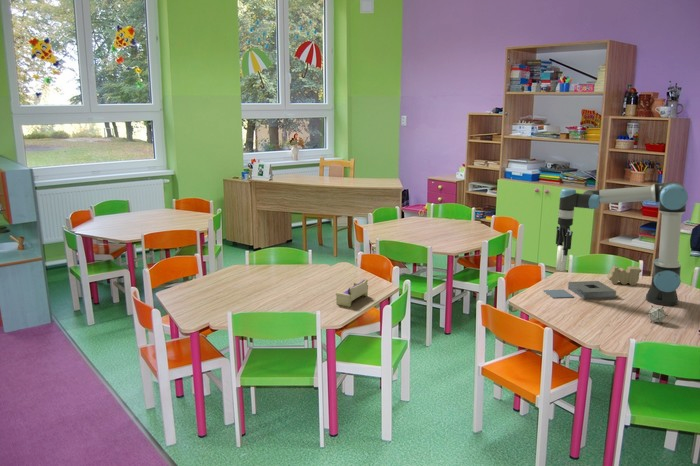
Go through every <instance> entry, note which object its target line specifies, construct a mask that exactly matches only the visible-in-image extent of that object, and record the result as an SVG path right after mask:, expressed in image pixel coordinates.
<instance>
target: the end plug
mask: <svg viewBox="0 0 700 466" xmlns="http://www.w3.org/2000/svg"><path fill="white" fill-rule="evenodd" d="M557 249H558V253H557V252H556V263H555V264H556V265H555V270H556V271H560V272H562V271H563V272H565V271H567V261H562V250H563V249H564V245H559V246H557Z"/></svg>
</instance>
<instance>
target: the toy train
mask: <svg viewBox="0 0 700 466" xmlns="http://www.w3.org/2000/svg"><path fill="white" fill-rule="evenodd" d="M609 271H610V272H609V273H608V274H607V275H606V278H607V279H608V281H610V282H611V283H612V284H613V285H618V283H621V284H622V285H627V284H629V285H630V286H636V285H637V284H638V283H639V280H640V273H641V272H642V269H641V268H640V267H639V266H633V265H632V266H631V265H630V266H629V265H628V266H627V268H626V269H624V268H623V267H617V265H612V267H611V269H610V270H609Z"/></svg>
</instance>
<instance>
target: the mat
mask: <svg viewBox="0 0 700 466" xmlns="http://www.w3.org/2000/svg"><path fill="white" fill-rule="evenodd" d="M542 291H543V292H544V293H545V292H546V293H545V294H546V295H548V296H549V295H550V296H549V297H550V298H552V299H568V298H569V299H573V298H575V296H574V295H573V294H571V293H570V292H568V291H567V290H565V289H543V290H542Z"/></svg>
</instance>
